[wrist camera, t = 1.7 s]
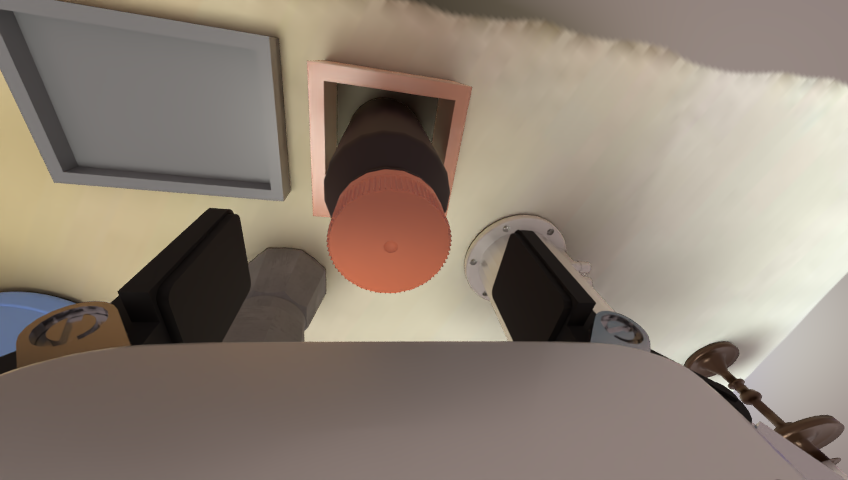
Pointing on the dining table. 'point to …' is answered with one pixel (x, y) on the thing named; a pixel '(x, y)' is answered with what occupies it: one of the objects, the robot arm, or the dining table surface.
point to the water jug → (23, 314)
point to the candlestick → (801, 433)
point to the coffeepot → (279, 297)
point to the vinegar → (387, 201)
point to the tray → (147, 100)
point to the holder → (330, 73)
